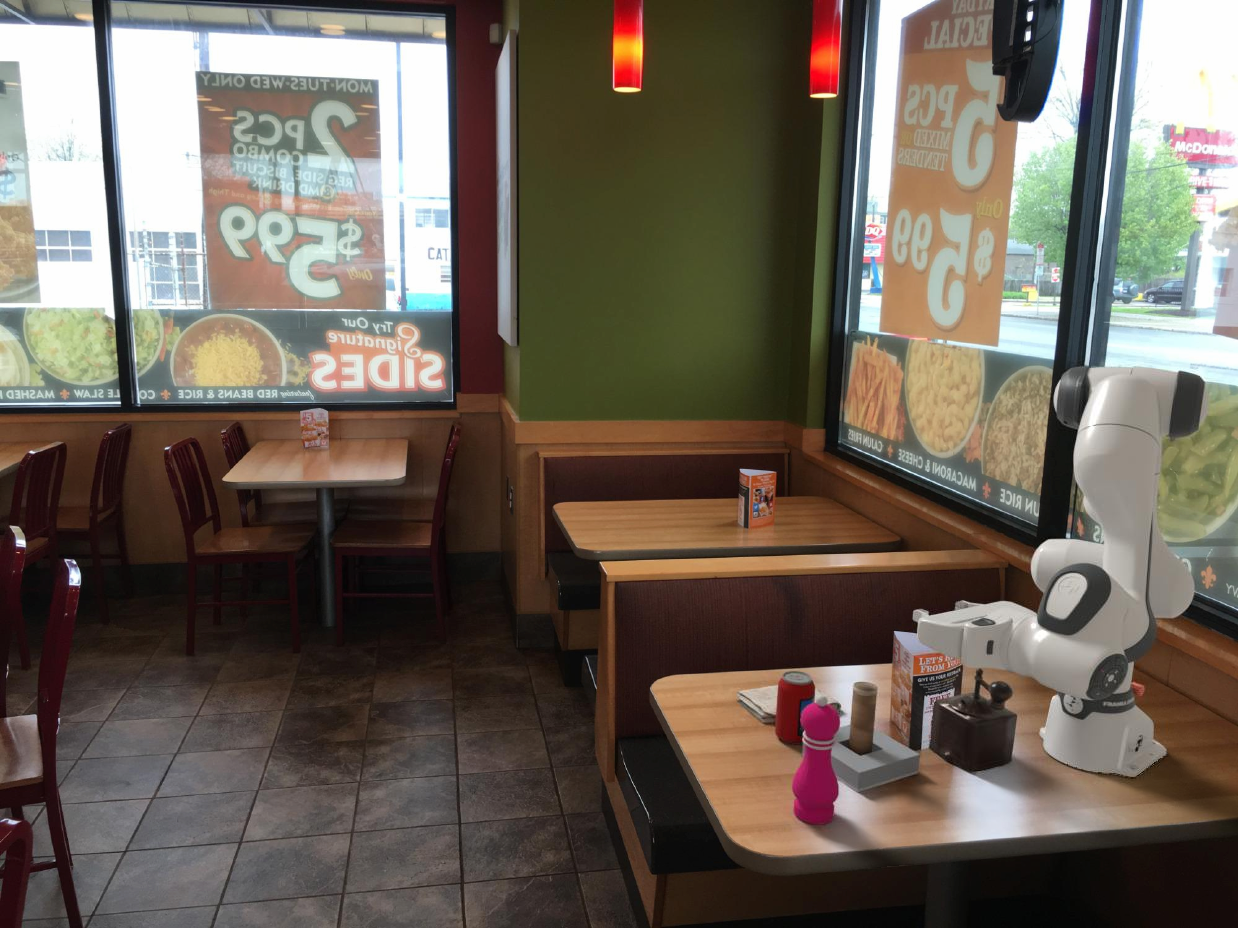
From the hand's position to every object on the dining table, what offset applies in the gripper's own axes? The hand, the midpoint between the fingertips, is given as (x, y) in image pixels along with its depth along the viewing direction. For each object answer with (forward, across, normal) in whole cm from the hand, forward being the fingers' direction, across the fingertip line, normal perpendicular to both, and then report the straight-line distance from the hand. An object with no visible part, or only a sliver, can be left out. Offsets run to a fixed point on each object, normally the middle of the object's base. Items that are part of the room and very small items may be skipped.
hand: (937, 609), depth 152 cm
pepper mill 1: (+3, +20, +32) cm, 38 cm away
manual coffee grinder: (+3, -18, +32) cm, 37 cm away
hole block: (+12, +2, +32) cm, 34 cm away
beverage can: (+25, +6, +32) cm, 41 cm away
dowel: (+12, +2, +31) cm, 34 cm away
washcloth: (+36, -2, +33) cm, 49 cm away
